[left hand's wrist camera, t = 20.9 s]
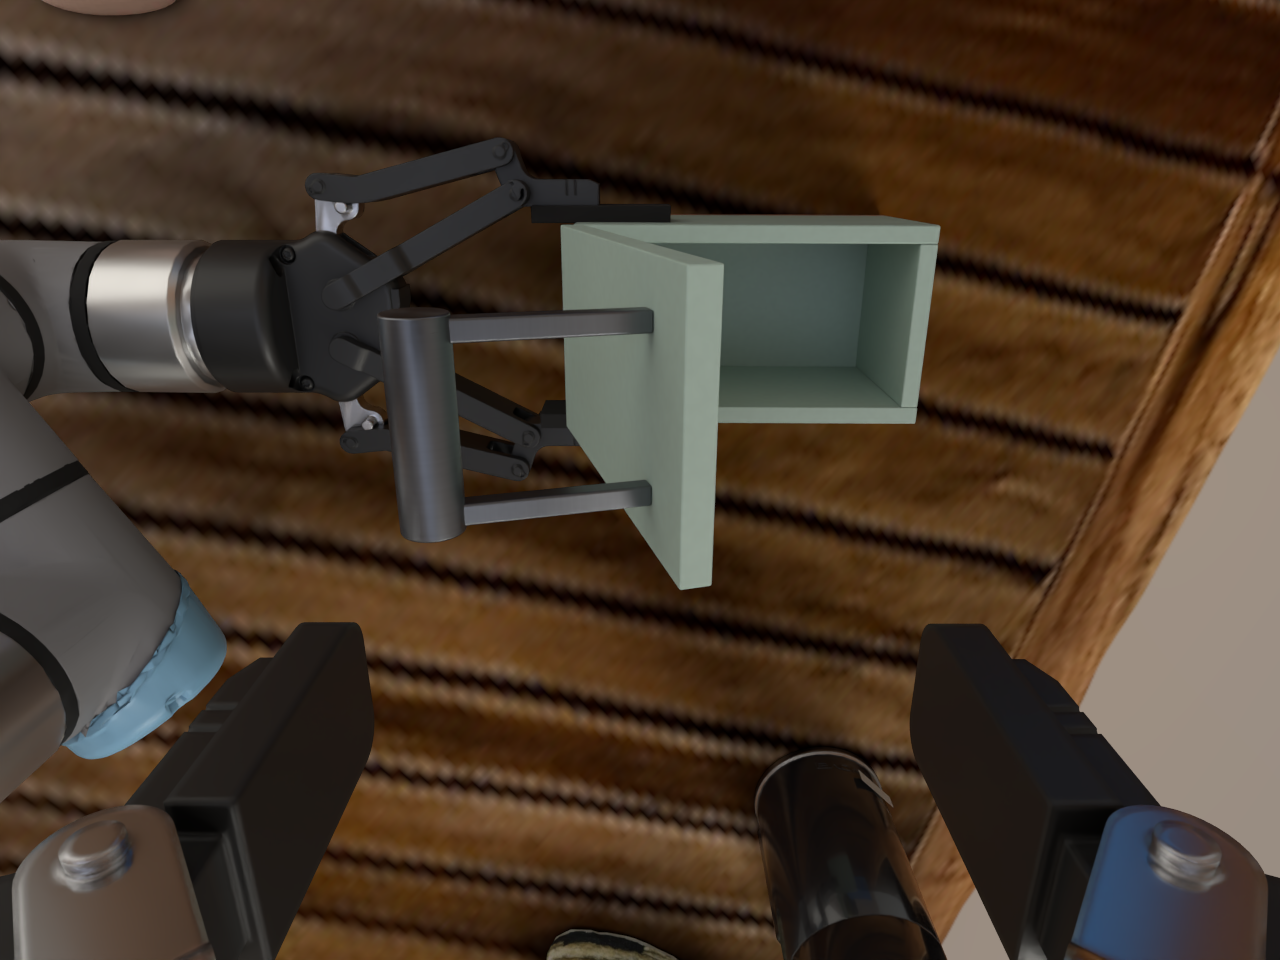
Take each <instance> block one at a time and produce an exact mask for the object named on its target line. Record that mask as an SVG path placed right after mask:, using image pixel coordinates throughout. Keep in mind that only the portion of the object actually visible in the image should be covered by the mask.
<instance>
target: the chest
mask: <svg viewBox="0 0 1280 960" xmlns="http://www.w3.org/2000/svg"><path fill="white" fill-rule="evenodd" d="M574 225H585V226H589V227H592V228H596V229H600V230H603V231H607V232H611V233H614V234H618V235H622V236H625V237H629V238H633V239H636V240H640V241H643V242H647V243H651V244H654V245H658V246H662V247H665V248H669V249H673V250H676V251H680V252H684V253H687V254H691V255H695V256H698V257H702V258H706V259H709V260H713V261H717V262H720V263H723V264H724V279H723V304H722V329H721V355H720V380H719V406H718V423H904V424H914V423H915V420H916V413H917V403H918V396H919V388H920V380H921V373H922V365H923V357H924V349H925V342H926V334H927V326H928V319H929V311H930V303H931V295H932V288H933V280H934V272H935V265H936V257H937V249H938V245H937V244H938V241H939V233H940V226H939V225H934V224H928V223H923V222H917V221H911V220H905V219H900V218H894V217H888V216H885V215H803V214H671V223H654V222H576V223H575V224H574Z"/></svg>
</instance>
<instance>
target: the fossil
mask: <svg viewBox="0 0 1280 960" xmlns="http://www.w3.org/2000/svg"><path fill="white" fill-rule="evenodd" d="M547 960H678V959H676V958H675V957H674V956H672V955H670V954H668V953H666V952H664V951H662V950H659V949H657V948H655V947H653V946H651V945H649V944H647V943H645V942H642V941H640V940H637V939H635V938H631V937H628V936H623V935H618V934H612V933H607V932H596V931H593V930H577V929H570V930H568V931H566V932H564V933H563V934H561V935H559V936H557V937H556V938H555V940H554V941H553V943H552V945H551V946H550V949H549V951H548V952H547Z"/></svg>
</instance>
